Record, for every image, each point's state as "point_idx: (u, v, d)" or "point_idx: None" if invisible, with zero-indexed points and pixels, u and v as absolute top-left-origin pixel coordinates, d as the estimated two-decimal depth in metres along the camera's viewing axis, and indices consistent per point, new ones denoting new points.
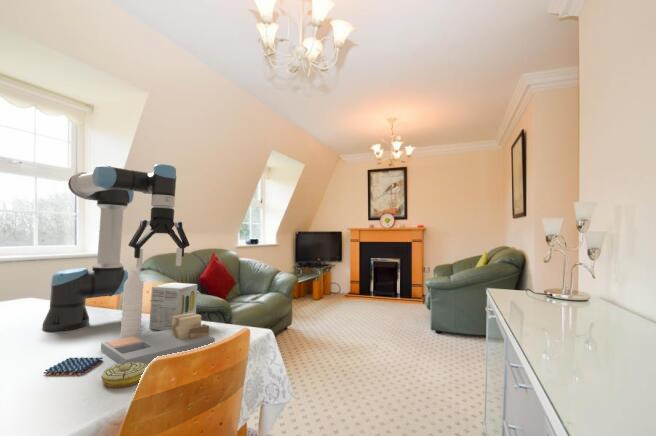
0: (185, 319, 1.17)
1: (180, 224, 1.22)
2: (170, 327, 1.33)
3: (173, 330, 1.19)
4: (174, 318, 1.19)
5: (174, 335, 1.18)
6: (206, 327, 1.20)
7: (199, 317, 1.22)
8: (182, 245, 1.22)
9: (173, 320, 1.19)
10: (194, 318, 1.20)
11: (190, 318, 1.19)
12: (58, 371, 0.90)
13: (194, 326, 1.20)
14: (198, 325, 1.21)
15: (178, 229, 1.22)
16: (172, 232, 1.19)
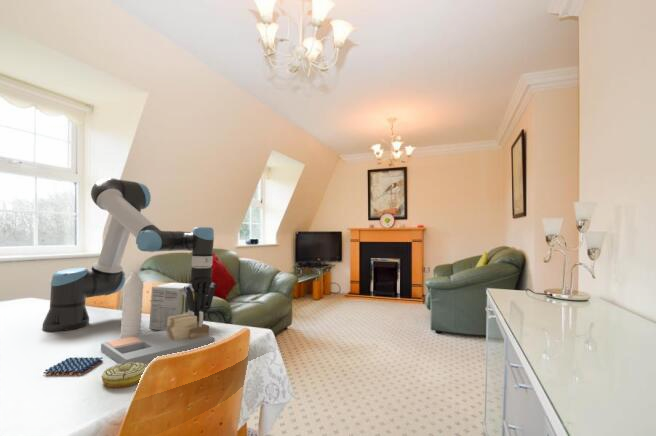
0: (180, 320, 1.16)
1: (215, 286, 1.29)
2: None
3: (168, 331, 1.17)
4: (169, 319, 1.17)
5: (169, 336, 1.17)
6: (206, 327, 1.20)
7: (195, 318, 1.20)
8: (204, 308, 1.25)
9: (168, 321, 1.18)
10: (189, 319, 1.19)
11: (185, 319, 1.17)
12: (58, 371, 0.90)
13: (189, 327, 1.19)
14: (194, 326, 1.20)
15: (210, 289, 1.28)
16: (205, 292, 1.25)
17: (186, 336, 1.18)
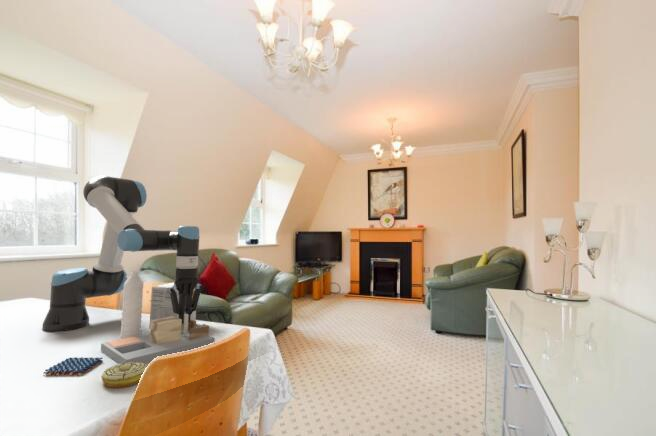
0: (164, 323, 1.11)
1: (201, 287, 1.24)
2: None
3: (151, 335, 1.12)
4: (152, 322, 1.12)
5: (152, 340, 1.12)
6: (206, 327, 1.20)
7: (179, 321, 1.15)
8: (189, 310, 1.20)
9: (151, 324, 1.13)
10: (174, 322, 1.14)
11: (169, 322, 1.13)
12: (58, 371, 0.90)
13: (174, 330, 1.14)
14: (178, 329, 1.15)
15: (196, 291, 1.24)
16: (191, 293, 1.20)
17: (170, 340, 1.13)
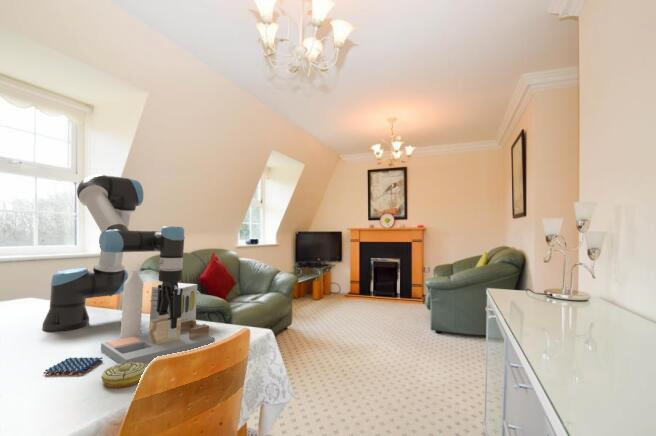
0: (163, 323, 1.11)
1: (174, 291, 1.11)
2: None
3: (151, 335, 1.12)
4: (152, 322, 1.13)
5: (151, 340, 1.12)
6: (206, 327, 1.20)
7: (178, 321, 1.15)
8: (170, 315, 1.12)
9: (150, 324, 1.13)
10: None
11: None
12: (58, 371, 0.90)
13: None
14: (177, 329, 1.15)
15: None
16: (167, 297, 1.13)
17: (169, 340, 1.13)
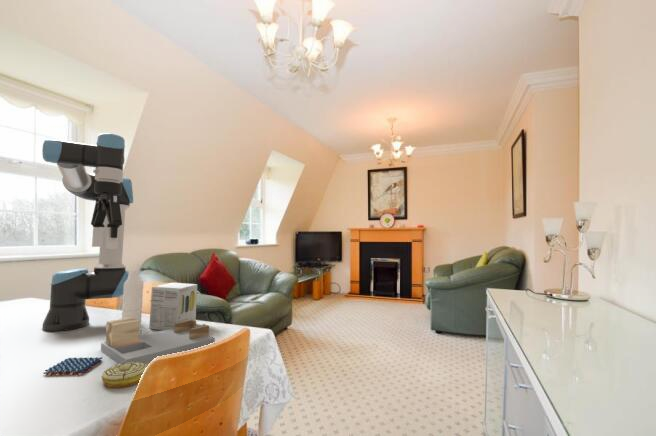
0: (119, 325, 1.07)
1: (109, 198, 1.01)
2: (170, 327, 1.33)
3: (107, 337, 1.09)
4: (108, 323, 1.09)
5: (107, 342, 1.08)
6: (206, 327, 1.20)
7: (137, 322, 1.11)
8: (109, 223, 1.00)
9: (107, 326, 1.09)
10: (130, 323, 1.10)
11: (125, 323, 1.09)
12: (58, 371, 0.90)
13: (130, 332, 1.10)
14: (135, 331, 1.11)
15: None
16: (104, 208, 1.02)
17: (126, 342, 1.09)
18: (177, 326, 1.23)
